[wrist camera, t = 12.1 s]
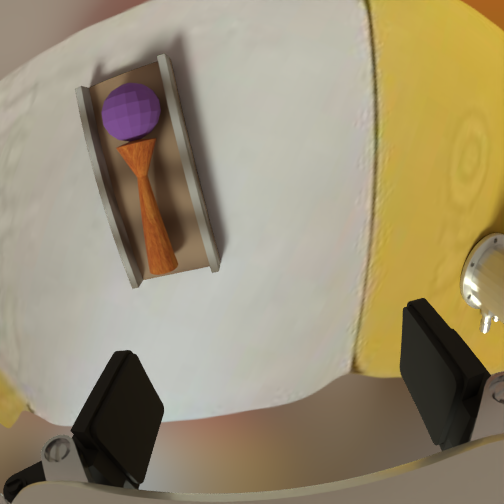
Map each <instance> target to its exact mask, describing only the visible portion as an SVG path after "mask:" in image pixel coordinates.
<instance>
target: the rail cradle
mask: <svg viewBox="0 0 504 504" xmlns="http://www.w3.org/2000/svg"><path fill="white" fill-rule="evenodd" d="M157 58H158V61H157V62H154V63H151V64H148V65H145V66H142V67H140V68H137V69H134V70H131V71H129V72H126V73H123V74H121V75H118V76H116V77H113V78H111V79H108V80H106V81H104V82H101V83H99V84H97V85H94V86H92V87H90V88H87V87H83V86H80V87H78V88H76V89H75V92H76V97H77V102H78V107H79V112H80V117H81V122H82V126H83V131H84V135H85V140H86V144H87V148H88V152H89V156H90V160H91V164H92V167H93V171H94V175H95V179H96V182H97V186H98V189H99V193H100V196H101V199H102V203H103V206H104V209H105V212H106V215H107V219H108V222H109V225H110V228H111V231H112V234H113V237H114V240H115V243H116V245H117V248H118V251H119V254H120V257H121V259H122V262H123V265H124V268H125V270H126V273H127V276H128V278H129V281H130V283H131V286H132V288H139V286H140V284H141V283H142V281H143V280H146V279H150V278H155V277H160V276H165V275H170V274H175V273H179V272H184V271H189V270H194V269H199V268H204V267H208V266H210V268H211V271H212V273H213V272H218V271H219V268H220V263H221V261H220V257H219V254H218V250H217V246H216V242H215V239H214V235H213V231H212V227H211V224H210V220H209V216H208V212H207V208H206V205H205V201H204V197H203V193H202V189H201V185H200V181H199V177H198V173H197V169H196V165H195V161H194V157H193V153H192V149H191V145H190V141H189V137H188V133H187V129H186V124H185V120H184V116H183V112H182V107H181V103H180V99H179V94H178V90H177V86H176V81H175V77H174V72H173V68H172V63H171V59H170V58H169V57H168V56H167V55H166V54H162V55H158V56H157ZM126 83H138V84H143V85H145V86H147V87H148V88H150V89H151V90H153V91H154V93H155V94H156V96H157V97H158V99H159V103H160V109H161V112H160V116H159V120H158V123H157V124H156V126H155V127H154V129H153V130H152V131H151V133H149V134H148V135H146V136H145V137H143V138H142V139H149V138H156V142H155V146H154V150H153V154H152V158H151V162H150V166H149V170H148V178H149V181H150V184H151V187H152V191H153V194H154V197H155V200H156V203H157V206H158V208H159V211H160V214H161V217H162V220H163V223H164V226H165V229H166V231H167V234H168V237H169V240H170V243H171V245H172V248H173V251H174V254H175V256H176V259H177V262H178V267H177V268H176V269H175V270H173V271H171V272H169V273H166V274H160V275H154V274H151V273H150V270H149V264H148V258H147V252H146V245H145V238H144V231H143V224H142V216H141V208H140V200H139V190H138V181H137V177H136V175H135V174H134V172H133V171H132V170H131V168H130V167H129V166H128V164H127V163H126V161H125V160H124V159H123V157H122V156H121V154H120V153H119V152H118V150H117V149H116V148H117V147H119V146H121V145H123V144H126V143H128V142H129V141H122V140H118V139H116V138H115V137H113V136H112V135H110V134H109V133H108V131H107V130H106V128H105V127H104V125H103V120H102V113H101V112H102V108H103V104H104V101H105V99H106V98H107V97H108V95H109V94H110V93H111V91H113V90H115V89H116V88H118V87H119V86H121V85H123V84H126Z"/></svg>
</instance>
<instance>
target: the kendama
mask: <svg viewBox="0 0 504 504" xmlns="http://www.w3.org/2000/svg"><path fill="white" fill-rule="evenodd" d="M160 112H161V109H160V103H159V99H158V97H157V96H156V94H155V93H154V91H153V90H151V89H150V88H148V87H147V86H145V85H143V84H138V83H126V84H123V85H121V86H119V87H118V88H116V89H115V90H113V91H111V93H110V94H109V95H108V97H107V98H106V99H105V101H104V104H103V108H102V112H101V113H102V120H103V125H104V127H105V128H106V130H107V131H108V133H109V134H110V135H112V136H113V137H115V138H116V139H118V140H122V141H129V142H128V143H126V144H123V145H121V146H119V147H117V148H116V149H117V150H118V152H119V153H120V154H121V156H122V157H123V159H124V160H125V161H126V163H127V164H128V166H129V167H130V168H131V170H132V171H133V172H134V174H135V175H136V177H137V181H138V190H139V200H140V208H141V216H142V224H143V231H144V238H145V245H146V252H147V258H148V264H149V270H150V273H151V274H154V275H160V274H166V273H169V272H171V271H173V270H175V269H176V268H177V267H178V262H177V259H176V256H175V254H174V251H173V248H172V245H171V243H170V240H169V237H168V234H167V231H166V229H165V226H164V223H163V220H162V217H161V214H160V211H159V208H158V206H157V203H156V200H155V197H154V194H153V191H152V187H151V184H150V181H149V178H148V170H149V166H150V162H151V158H152V154H153V150H154V146H155V142H156V138H149V139H142V138H143V137H145V136H146V135H148V134H149V133H151V131H152V130H153V129H154V127H155V126H156V124H157V123H158V120H159V116H160Z"/></svg>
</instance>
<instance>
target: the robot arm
mask: <svg viewBox="0 0 504 504" xmlns="http://www.w3.org/2000/svg"><path fill="white" fill-rule="evenodd" d="M460 289H461V294H462V297H463V299H464V300H465V302H466V303H467V304H468V305H469V306H471V307H473V308H476V309H481V315H482V319H481V323H480V328H479V329H480V331H481V332H483V333H487V332H488V331H489V329H490V325H491V318H492V317H493V318H492V319H493V320H494V321H499V320H500V321H501V322H502V323H503V324H504V234H502V233H493V234H490V235H488V236H486V237H484V238H483V239H482V240H480V241H479V242H478V244H477V245H476V246H475V247H474V248H473V250H472V251H471V253H470V254H469V256H468V258H467V260H466V262H465V265H464V267H463V271H462V274H461V280H460ZM400 372H401V375H402V378H403V380H404V381H405V384H406V385H407V388H408V390H409V392H410V393H411V396H412V398H413V400H414V402H415V404H416V406H417V408H418V410H419V413H420V414H421V417H422V419H423V421H424V423H425V425H426V428H427V430H428V432H429V434H430V437H431V439H432V441H433V443H434V444H435V445H440V447H441V450H442V452H439V453H437V454H434V455H431V456H428V457H425V458H422V459H419V460H416V461H414V462H410V463H407V464H404V465H400V466H397V467H393V468H390V469H387V470H383V471H379V472H376V473H372V474H368V475H364V476H360V477H356V478H351V479H347V480H342V481H337V482H332V483H326V484H320V485H314V486H308V487H301V488H294V489H286V490H278V491H266V492H253V493H234V494H233V493H232V494H190V493H170V492H156V491H146V490H138V488H139V485H140V484H141V483H143V481H144V479H145V475H146V472H147V468H148V465H149V461H150V458H151V454H152V451H153V447H154V444H155V440H156V437H157V434H158V431H159V427H160V424H161V421H162V417H163V414H164V406H163V403H162V402H161V400H160V398H159V396H158V394H157V393H156V391H155V389H154V387H153V385H152V383H151V382H150V380H149V378H148V376H147V374H146V372H145V370H144V368H143V366H142V364H141V362H140V360H139V358H138V356H137V355H136V354H133V353H132V352H131V351H130V350H125V351H116V352H114V354H113V355H112V357H111V359H110V360H109V362H108V364H107V365H106V367H105V369H104V371H103V372H102V374H101V376H100V378H99V379H98V381H97V383H96V385H95V386H94V388H93V390H92V392H91V394H90V395H89V397H88V399H87V401H86V403H85V404H84V406H83V408H82V410H81V412H80V414H79V415H78V417H77V419H76V421H75V423H74V425H73V427H72V429H71V432H72V433H73V434H74V435H73V437H72V438H71V437H69V436H67V435H58V436H55V437H53V438H51V439H49V440H48V441H47V442H46V443H45V445H44V446H43V448H42V451H41V459H42V461H40V462H38V463H36V464H34V465H32V466H30V467H28V468H26V469H24V470H22V471H20V472H18V473H16V474H14V475H12V476H11V477H10V478H9V479H8V480H7V481H6V483H5V485H4V489H3V493H4V495H2V494H1V493H0V504H504V372H498V373H495V374H494V375H492V376H491V375H490V374H489V372H488V371H487V370H486V368H485V367H484V366H483V364H482V363H481V362H480V361H479V359H478V358H477V357H476V355H475V354H474V353H473V352H472V350H471V349H470V348H469V347H468V345H467V344H466V343H465V342H464V341H463V339H462V338H461V337H460V336H459V334H458V333H457V332H456V331H455V330H454V329H451V328H450V327H449V326H448V325H447V323H446V322H445V321H444V320H443V319H442V318H441V316H440V315H439V314H438V313H437V312H436V311H435V309H434V308H433V307H432V306H431V305H430V304H429V302H428V301H427V300H426V299H425V298H421V299H417V300H413V301H410V302H408V304H407V307H404V308H403V323H402V343H401V357H400Z"/></svg>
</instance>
